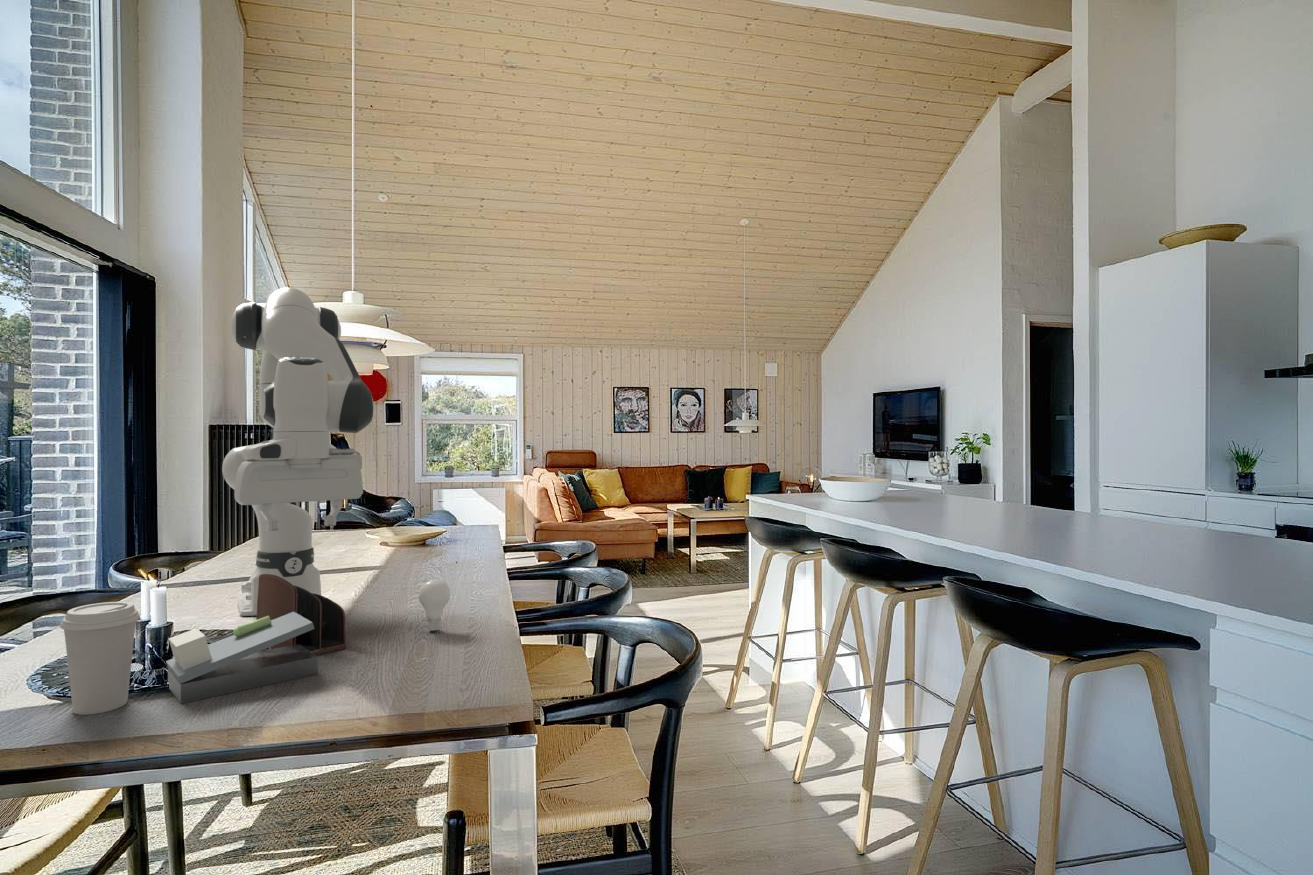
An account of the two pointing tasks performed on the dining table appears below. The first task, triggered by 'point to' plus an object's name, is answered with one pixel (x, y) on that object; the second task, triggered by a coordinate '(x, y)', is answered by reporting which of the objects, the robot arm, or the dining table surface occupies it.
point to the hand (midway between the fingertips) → (301, 528)
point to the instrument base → (248, 673)
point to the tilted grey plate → (231, 645)
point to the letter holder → (303, 614)
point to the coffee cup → (99, 655)
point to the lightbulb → (434, 601)
